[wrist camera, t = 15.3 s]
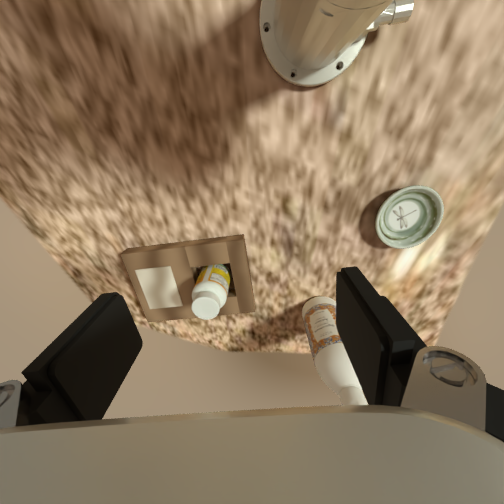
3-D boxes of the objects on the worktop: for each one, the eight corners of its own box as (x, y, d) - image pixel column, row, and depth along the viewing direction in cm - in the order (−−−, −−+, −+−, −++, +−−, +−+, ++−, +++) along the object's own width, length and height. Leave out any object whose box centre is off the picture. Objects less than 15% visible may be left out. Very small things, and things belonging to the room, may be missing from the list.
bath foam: (330, 289, 43) (383, 396, 25) (343, 316, 46) (399, 431, 28) (295, 303, 45) (321, 413, 27) (309, 328, 47) (341, 445, 29)
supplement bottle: (227, 258, 41) (219, 290, 32) (233, 284, 43) (228, 320, 35) (197, 263, 42) (181, 295, 33) (205, 288, 44) (192, 325, 35)
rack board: (243, 234, 39) (242, 240, 37) (254, 303, 45) (254, 312, 42) (127, 248, 41) (119, 255, 38) (153, 313, 46) (147, 323, 44)
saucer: (444, 215, 37) (456, 220, 35) (389, 254, 40) (397, 260, 38) (414, 168, 35) (424, 170, 32) (357, 213, 38) (363, 218, 35)
